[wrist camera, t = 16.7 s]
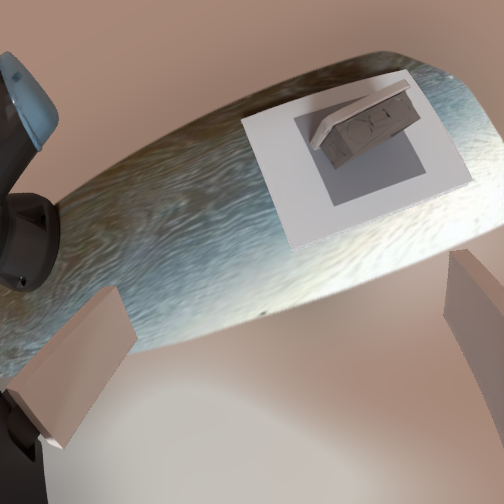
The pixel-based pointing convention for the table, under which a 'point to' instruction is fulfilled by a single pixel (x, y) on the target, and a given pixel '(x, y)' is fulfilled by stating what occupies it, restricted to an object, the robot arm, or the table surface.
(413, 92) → the mounting board
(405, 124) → the electrical switch
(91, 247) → the table surface
